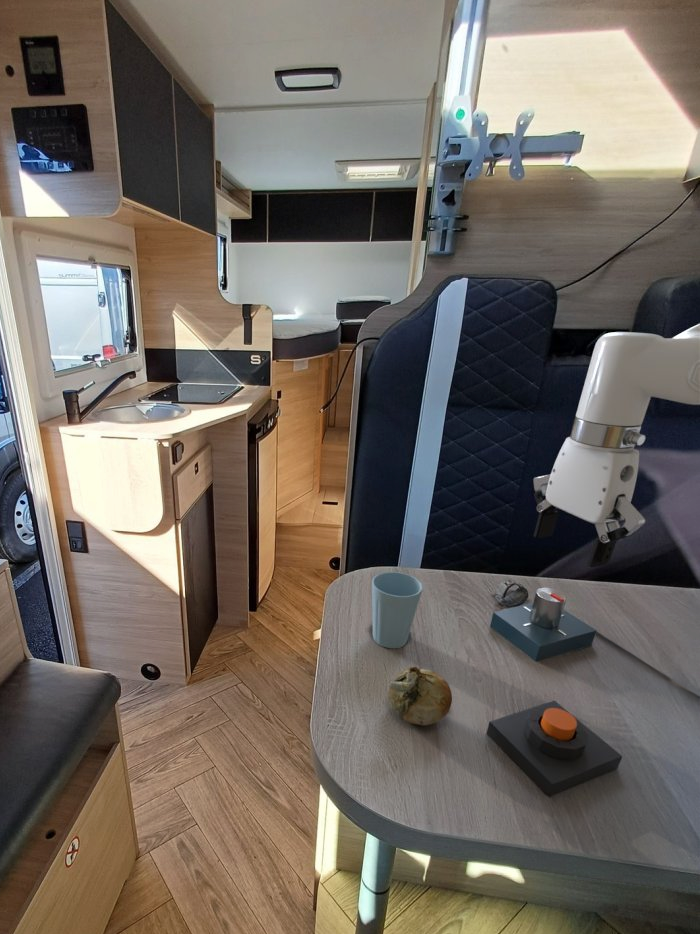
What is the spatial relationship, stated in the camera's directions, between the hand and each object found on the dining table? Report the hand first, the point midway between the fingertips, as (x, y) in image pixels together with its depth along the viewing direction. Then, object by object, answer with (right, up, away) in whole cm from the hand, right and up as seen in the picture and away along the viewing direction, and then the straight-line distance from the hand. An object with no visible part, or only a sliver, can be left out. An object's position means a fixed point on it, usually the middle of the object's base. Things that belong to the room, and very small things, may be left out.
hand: (568, 550), depth 76 cm
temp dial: (+1, -12, +9) cm, 15 cm away
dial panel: (+1, -14, +11) cm, 18 cm away
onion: (-24, -22, -6) cm, 33 cm away
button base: (-9, -25, -11) cm, 29 cm away
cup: (-24, -15, +9) cm, 30 cm away
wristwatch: (0, -10, +20) cm, 22 cm away
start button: (-9, -22, -13) cm, 27 cm away
